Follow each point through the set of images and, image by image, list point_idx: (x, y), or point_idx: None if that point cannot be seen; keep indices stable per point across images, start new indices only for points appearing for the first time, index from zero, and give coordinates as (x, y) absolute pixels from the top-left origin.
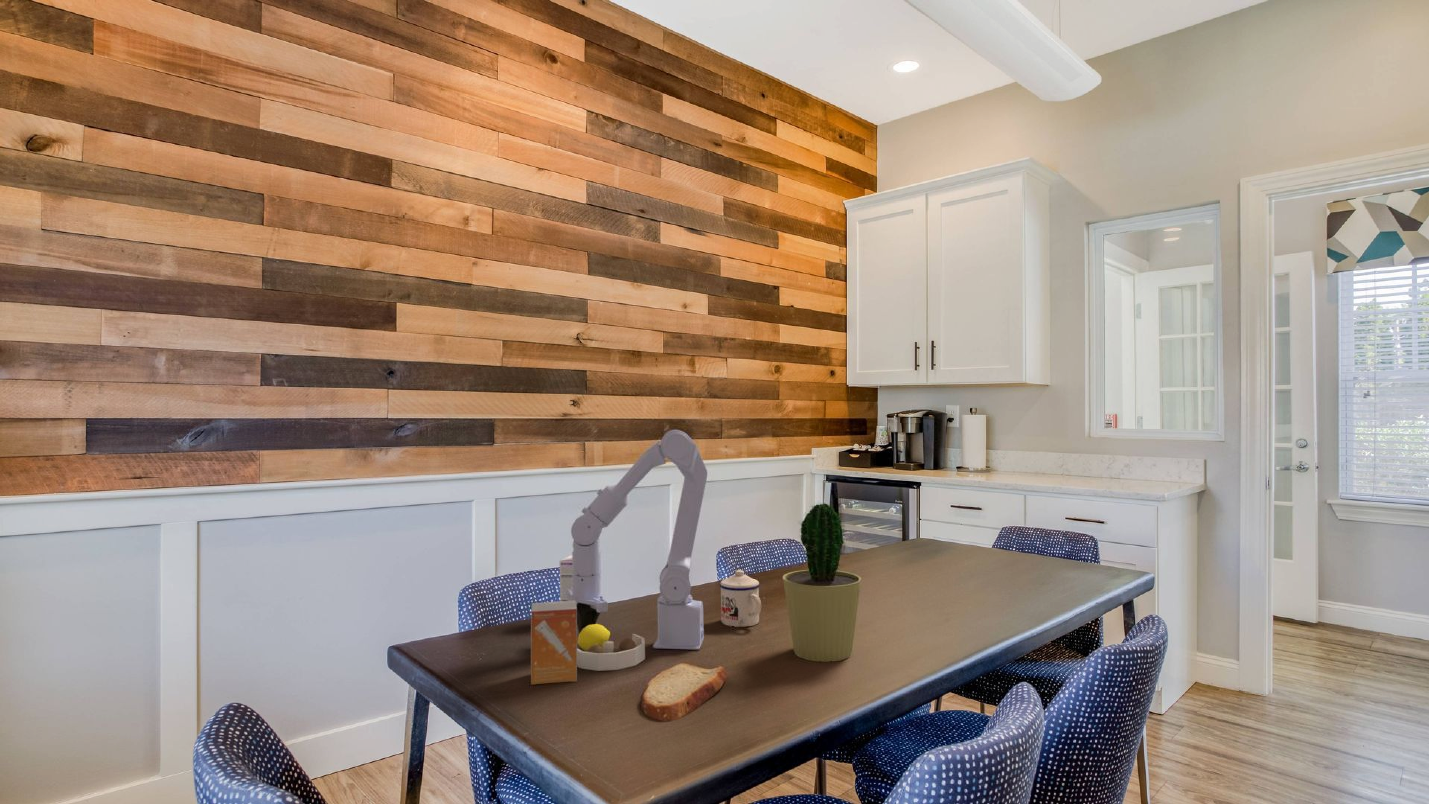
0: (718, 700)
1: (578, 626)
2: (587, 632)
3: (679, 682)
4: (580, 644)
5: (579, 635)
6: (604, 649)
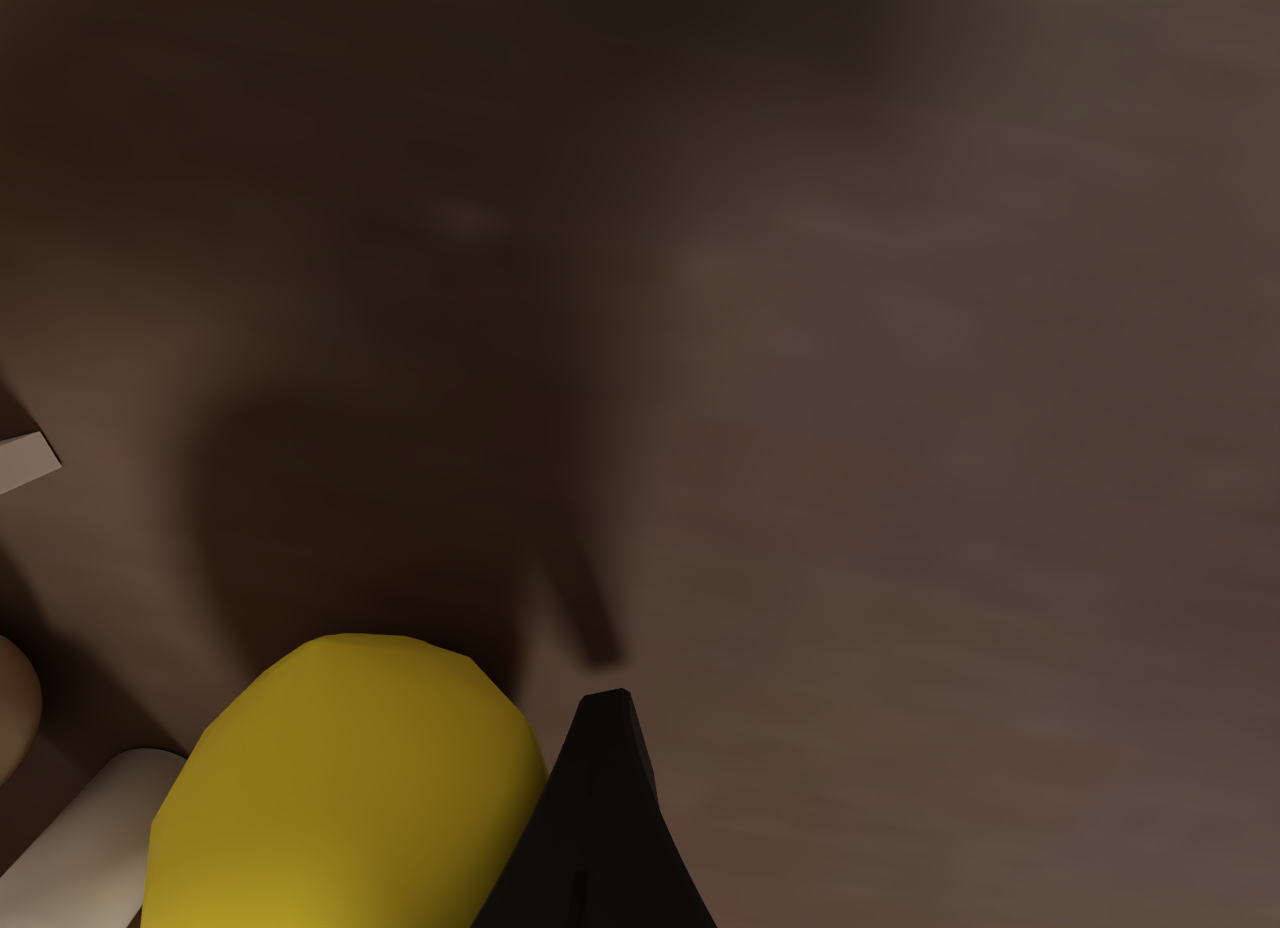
0: None
1: (620, 829)
2: (159, 889)
3: None
4: (284, 658)
5: (312, 741)
6: (40, 844)
